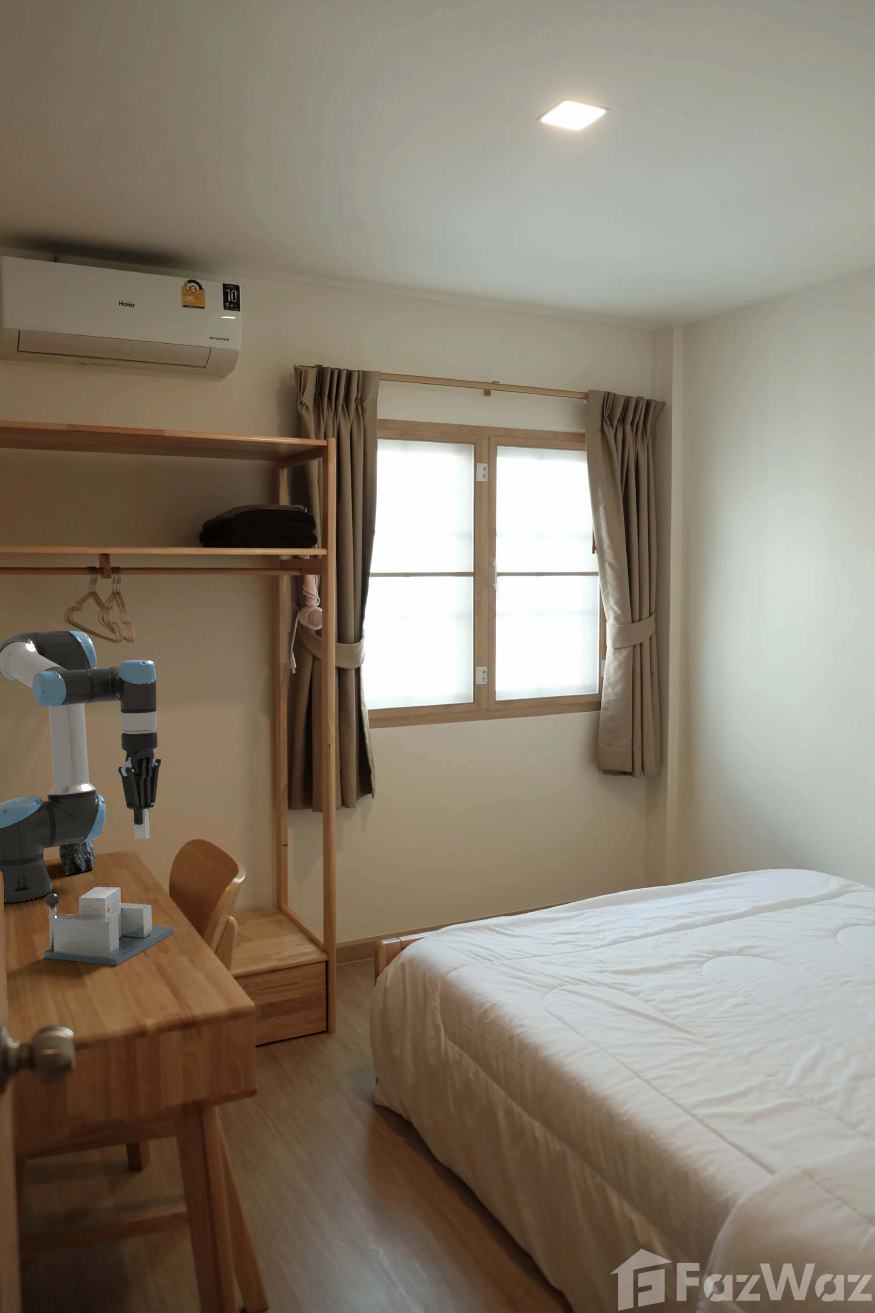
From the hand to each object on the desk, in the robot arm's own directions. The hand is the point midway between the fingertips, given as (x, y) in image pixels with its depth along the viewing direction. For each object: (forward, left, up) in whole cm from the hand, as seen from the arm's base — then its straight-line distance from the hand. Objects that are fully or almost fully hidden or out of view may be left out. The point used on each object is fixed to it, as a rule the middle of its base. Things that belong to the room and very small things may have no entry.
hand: (142, 838), depth 217 cm
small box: (+15, 0, -19) cm, 24 cm away
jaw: (+9, 0, -18) cm, 20 cm away
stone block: (-41, -48, -20) cm, 66 cm away
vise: (+13, 0, -20) cm, 23 cm away
